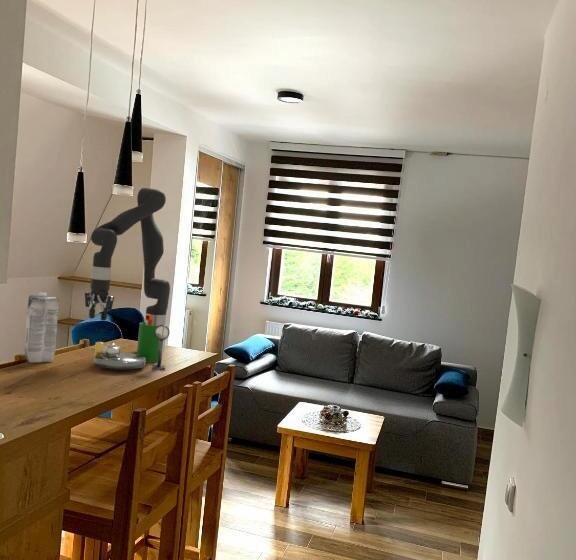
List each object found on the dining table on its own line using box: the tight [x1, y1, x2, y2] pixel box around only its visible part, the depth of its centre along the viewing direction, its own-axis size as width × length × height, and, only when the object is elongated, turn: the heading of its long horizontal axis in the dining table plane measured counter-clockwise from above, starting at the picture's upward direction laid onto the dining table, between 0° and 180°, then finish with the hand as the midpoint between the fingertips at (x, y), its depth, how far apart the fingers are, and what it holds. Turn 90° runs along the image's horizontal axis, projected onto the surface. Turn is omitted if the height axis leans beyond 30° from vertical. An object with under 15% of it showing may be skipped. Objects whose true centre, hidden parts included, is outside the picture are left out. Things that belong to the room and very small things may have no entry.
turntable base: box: [107, 368, 129, 371], centre depth 249 cm, size 10×10×1 cm
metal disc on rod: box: [151, 324, 171, 371], centre depth 254 cm, size 5×6×18 cm
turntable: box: [93, 341, 147, 370], centre depth 249 cm, size 20×20×8 cm
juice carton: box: [24, 292, 59, 364], centre depth 246 cm, size 9×10×27 cm
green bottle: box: [136, 314, 159, 363], centre depth 267 cm, size 10×9×20 cm
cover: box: [103, 342, 121, 357], centre depth 251 cm, size 7×7×5 cm
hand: (97, 319), depth 254 cm, fingers open, 5 cm apart
